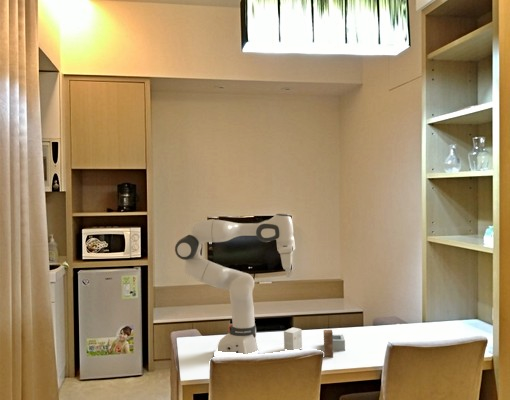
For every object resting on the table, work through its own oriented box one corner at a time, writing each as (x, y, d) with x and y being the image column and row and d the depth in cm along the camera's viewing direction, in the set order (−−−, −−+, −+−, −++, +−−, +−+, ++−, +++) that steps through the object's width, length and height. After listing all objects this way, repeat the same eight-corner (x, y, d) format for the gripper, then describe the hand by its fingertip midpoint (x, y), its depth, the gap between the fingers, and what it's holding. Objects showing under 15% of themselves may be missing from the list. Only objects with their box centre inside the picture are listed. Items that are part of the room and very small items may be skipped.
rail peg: (324, 357, 220) (324, 332, 219) (324, 354, 224) (323, 329, 223) (333, 357, 219) (332, 332, 219) (332, 354, 223) (331, 329, 223)
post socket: (326, 350, 229) (326, 340, 229) (325, 344, 238) (325, 334, 238) (345, 350, 228) (344, 340, 228) (343, 344, 237) (342, 334, 237)
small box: (293, 347, 235) (292, 327, 235) (302, 349, 231) (301, 328, 231) (284, 352, 229) (283, 331, 229) (293, 354, 225) (292, 333, 225)
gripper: (281, 244, 236) (283, 270, 236) (278, 250, 215) (281, 279, 216) (293, 242, 235) (296, 269, 235) (291, 249, 214) (294, 278, 215)
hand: (289, 274), depth 225 cm, fingers open, 8 cm apart
